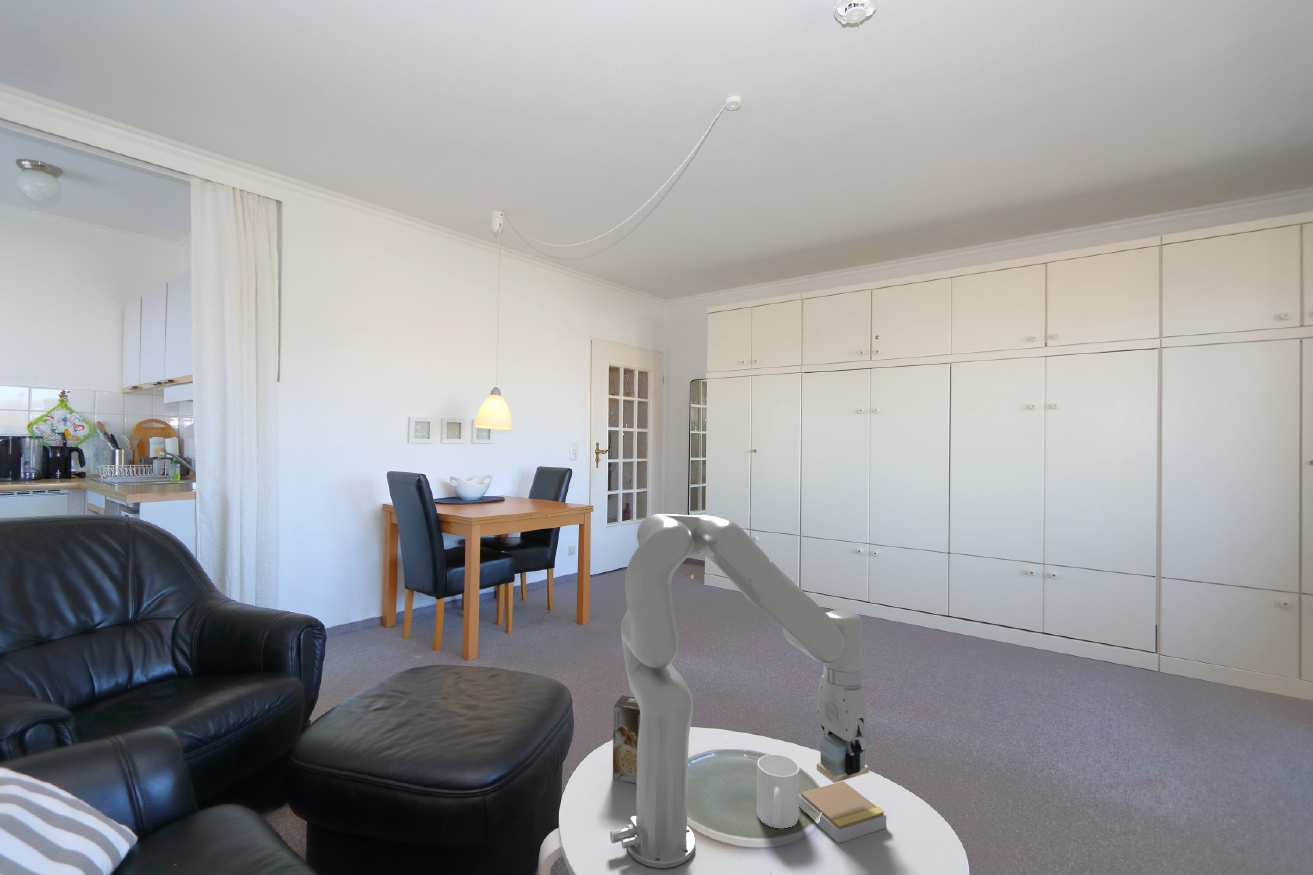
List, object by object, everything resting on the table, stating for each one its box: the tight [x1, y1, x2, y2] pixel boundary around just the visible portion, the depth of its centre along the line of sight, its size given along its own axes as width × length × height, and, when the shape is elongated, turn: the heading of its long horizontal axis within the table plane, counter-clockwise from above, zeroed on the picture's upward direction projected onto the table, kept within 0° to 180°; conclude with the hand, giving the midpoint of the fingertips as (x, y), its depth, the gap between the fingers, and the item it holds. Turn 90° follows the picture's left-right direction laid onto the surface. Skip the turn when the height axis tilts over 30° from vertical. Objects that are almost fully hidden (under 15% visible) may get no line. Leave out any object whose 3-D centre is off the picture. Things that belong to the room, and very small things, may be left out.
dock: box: [799, 780, 887, 844], centre depth 115 cm, size 12×12×3 cm
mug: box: [756, 753, 800, 830], centre depth 113 cm, size 12×8×10 cm
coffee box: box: [612, 695, 640, 784], centre depth 129 cm, size 9×6×16 cm
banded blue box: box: [816, 733, 870, 784], centre depth 115 cm, size 9×5×6 cm, turn 115°
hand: (842, 764), depth 115 cm, fingers closed on banded blue box, 5 cm apart
